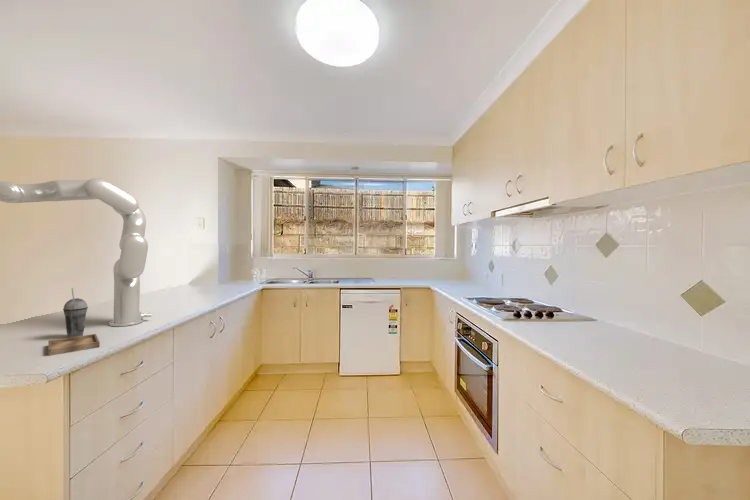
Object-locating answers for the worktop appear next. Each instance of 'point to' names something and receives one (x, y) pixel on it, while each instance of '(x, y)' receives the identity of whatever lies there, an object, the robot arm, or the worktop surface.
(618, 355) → the worktop surface
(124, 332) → the worktop surface
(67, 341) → the tray
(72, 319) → the beverage cup
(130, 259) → the robot arm
